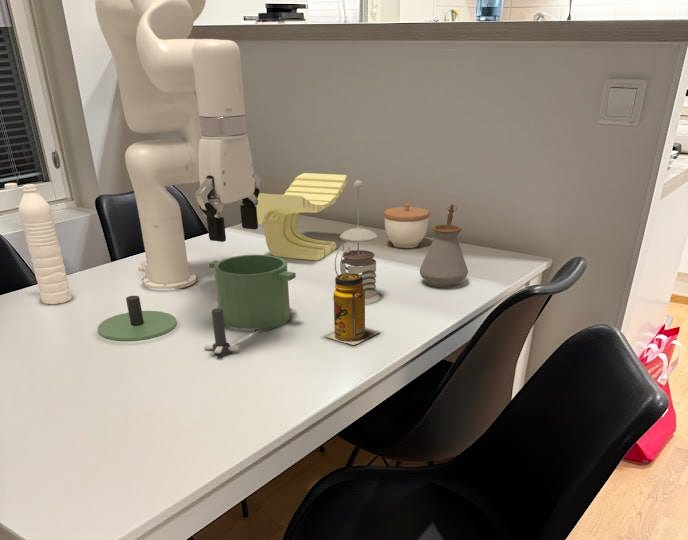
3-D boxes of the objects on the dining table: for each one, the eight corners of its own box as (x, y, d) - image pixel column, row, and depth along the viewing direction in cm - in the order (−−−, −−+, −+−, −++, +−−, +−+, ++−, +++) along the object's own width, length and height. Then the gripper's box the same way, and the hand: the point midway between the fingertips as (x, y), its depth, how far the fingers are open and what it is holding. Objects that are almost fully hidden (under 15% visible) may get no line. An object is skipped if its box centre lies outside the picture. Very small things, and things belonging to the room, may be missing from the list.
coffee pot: (465, 291, 157) (471, 224, 149) (416, 288, 159) (418, 222, 151) (471, 265, 174) (476, 204, 166) (426, 263, 176) (429, 203, 168)
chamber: (275, 338, 134) (271, 281, 128) (196, 322, 142) (188, 267, 136) (313, 315, 145) (311, 261, 139) (237, 301, 153) (232, 249, 147)
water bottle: (77, 296, 158) (51, 181, 144) (62, 305, 152) (33, 187, 139) (43, 294, 159) (14, 181, 146) (27, 303, 154) (-5, 186, 141)
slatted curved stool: (297, 236, 202) (294, 172, 192) (347, 240, 197) (346, 175, 187) (250, 263, 178) (244, 192, 169) (305, 269, 173) (302, 195, 164)
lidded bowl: (430, 250, 187) (432, 208, 181) (384, 251, 187) (384, 209, 181) (425, 238, 197) (427, 199, 192) (382, 239, 198) (383, 199, 192)
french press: (389, 296, 154) (391, 179, 141) (354, 309, 147) (353, 188, 134) (357, 287, 160) (356, 174, 147) (322, 300, 153) (318, 182, 140)
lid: (140, 349, 130) (133, 315, 127) (82, 335, 137) (74, 303, 133) (192, 323, 142) (188, 291, 138) (136, 311, 148) (131, 281, 145)
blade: (201, 359, 126) (195, 316, 121) (209, 346, 131) (203, 304, 127) (235, 360, 125) (230, 316, 121) (241, 346, 131) (237, 304, 126)
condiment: (325, 337, 134) (323, 277, 128) (352, 325, 139) (352, 267, 133) (353, 346, 130) (353, 284, 124) (380, 333, 135) (381, 273, 129)
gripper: (235, 122, 119) (245, 222, 128) (171, 132, 107) (186, 243, 115) (271, 123, 116) (278, 226, 125) (209, 134, 103) (222, 248, 112)
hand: (234, 234), depth 120 cm, fingers open, 9 cm apart
